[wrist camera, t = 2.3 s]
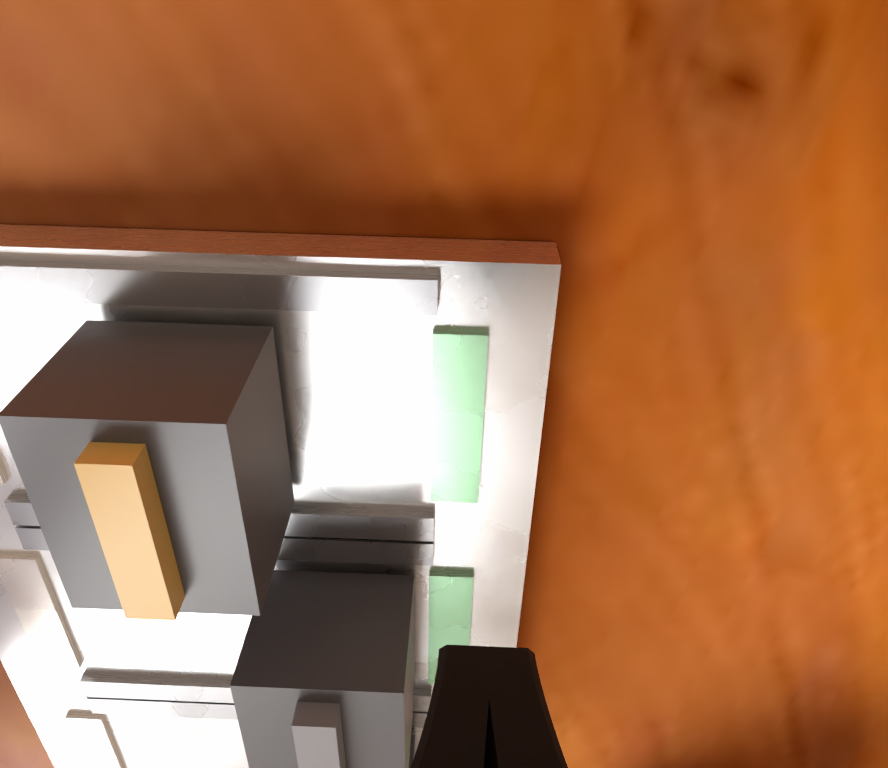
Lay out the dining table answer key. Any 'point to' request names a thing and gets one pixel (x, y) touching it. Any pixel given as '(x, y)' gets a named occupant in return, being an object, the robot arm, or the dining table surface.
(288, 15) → the dining table surface
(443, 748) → the robot arm
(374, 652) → the breaker
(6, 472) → the breaker panel
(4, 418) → the block
